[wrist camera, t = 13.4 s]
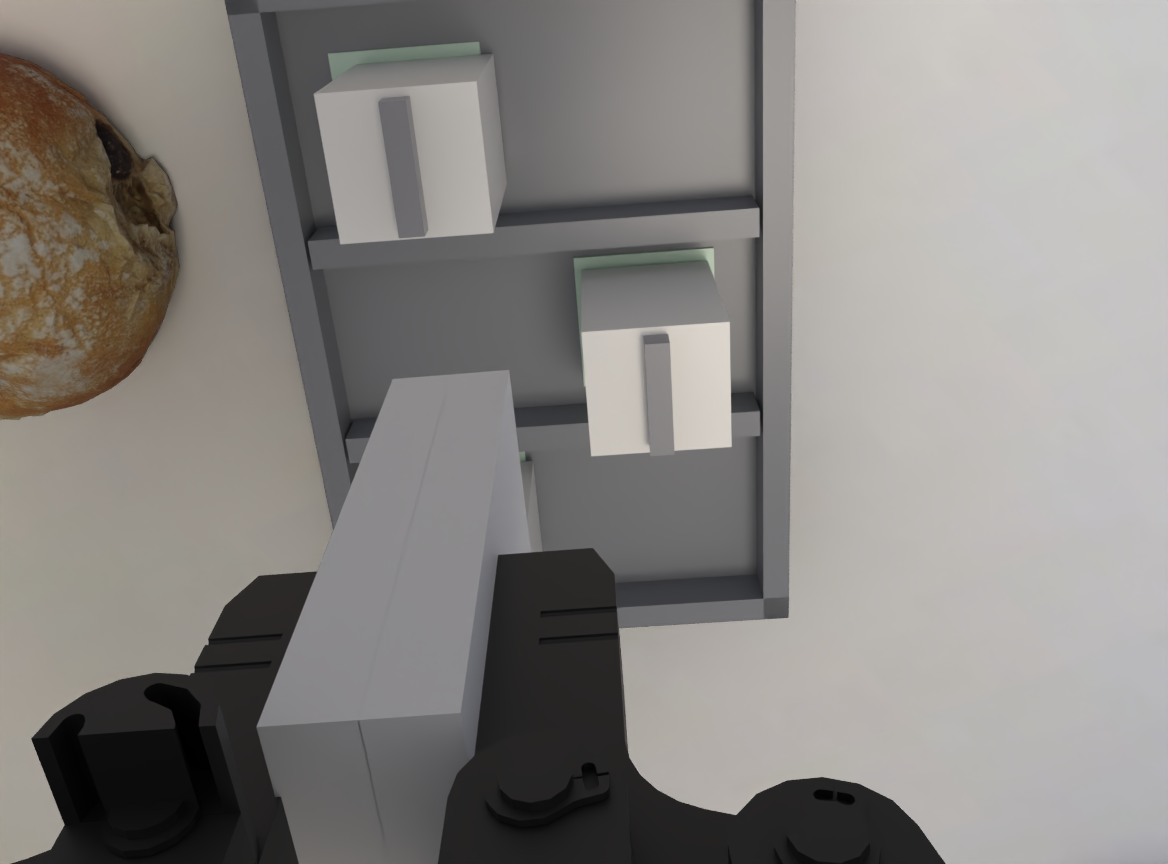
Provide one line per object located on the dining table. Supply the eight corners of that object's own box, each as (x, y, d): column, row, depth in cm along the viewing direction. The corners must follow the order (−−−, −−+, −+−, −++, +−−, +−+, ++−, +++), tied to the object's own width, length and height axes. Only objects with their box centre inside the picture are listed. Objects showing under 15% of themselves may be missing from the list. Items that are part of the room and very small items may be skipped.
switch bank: (370, 598, 37) (356, 644, 35) (249, -26, 29) (220, -20, 26) (775, 572, 37) (788, 617, 35) (778, -68, 28) (796, -67, 26)
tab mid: (589, 379, 32) (591, 466, 27) (581, 270, 31) (581, 341, 26) (710, 371, 32) (734, 457, 27) (707, 260, 30) (732, 330, 25)
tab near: (376, 193, 30) (335, 251, 25) (356, 64, 28) (307, 98, 23) (506, 183, 29) (491, 240, 24) (493, 53, 28) (473, 85, 23)
